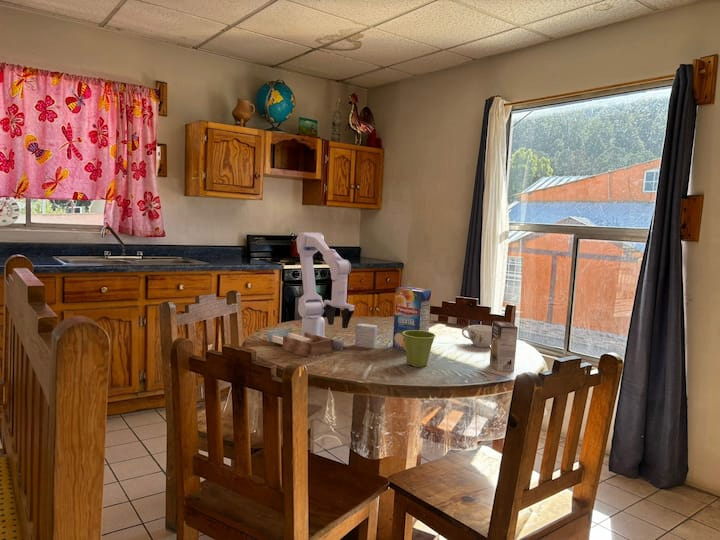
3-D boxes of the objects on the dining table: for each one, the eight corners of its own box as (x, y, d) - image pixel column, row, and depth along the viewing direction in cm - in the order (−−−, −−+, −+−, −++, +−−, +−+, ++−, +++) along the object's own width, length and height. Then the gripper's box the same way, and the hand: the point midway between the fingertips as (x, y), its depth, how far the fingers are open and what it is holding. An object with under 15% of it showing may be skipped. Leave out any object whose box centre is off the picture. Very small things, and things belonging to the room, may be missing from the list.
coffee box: (488, 364, 202) (491, 320, 200) (505, 364, 202) (509, 321, 201) (496, 371, 193) (500, 326, 191) (514, 371, 193) (518, 326, 191)
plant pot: (410, 370, 189) (412, 338, 187) (394, 361, 199) (396, 330, 198) (440, 368, 193) (442, 336, 192) (423, 359, 204) (425, 329, 203)
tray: (266, 341, 215) (267, 331, 214) (289, 337, 224) (290, 327, 223) (292, 348, 205) (292, 338, 204) (315, 344, 214) (315, 334, 213)
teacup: (500, 345, 233) (501, 326, 232) (493, 351, 222) (494, 331, 221) (465, 340, 239) (466, 322, 238) (457, 345, 228) (458, 326, 227)
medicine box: (376, 346, 220) (378, 325, 219) (373, 349, 216) (374, 327, 215) (358, 344, 223) (359, 323, 222) (354, 346, 219) (355, 325, 218)
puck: (336, 347, 216) (337, 338, 216) (345, 349, 213) (346, 340, 213) (327, 349, 213) (328, 340, 212) (336, 351, 209) (337, 342, 209)
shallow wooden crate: (281, 349, 209) (282, 336, 208) (304, 344, 218) (305, 332, 217) (309, 357, 199) (310, 344, 198) (332, 352, 207) (333, 339, 207)
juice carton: (392, 347, 220) (395, 288, 218) (402, 344, 226) (405, 286, 224) (418, 352, 213) (421, 291, 211) (427, 349, 219) (431, 290, 216)
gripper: (318, 289, 212) (317, 324, 214) (345, 294, 203) (344, 330, 204) (331, 288, 217) (330, 322, 219) (358, 293, 208) (357, 328, 209)
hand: (337, 326), depth 212 cm, fingers open, 7 cm apart
